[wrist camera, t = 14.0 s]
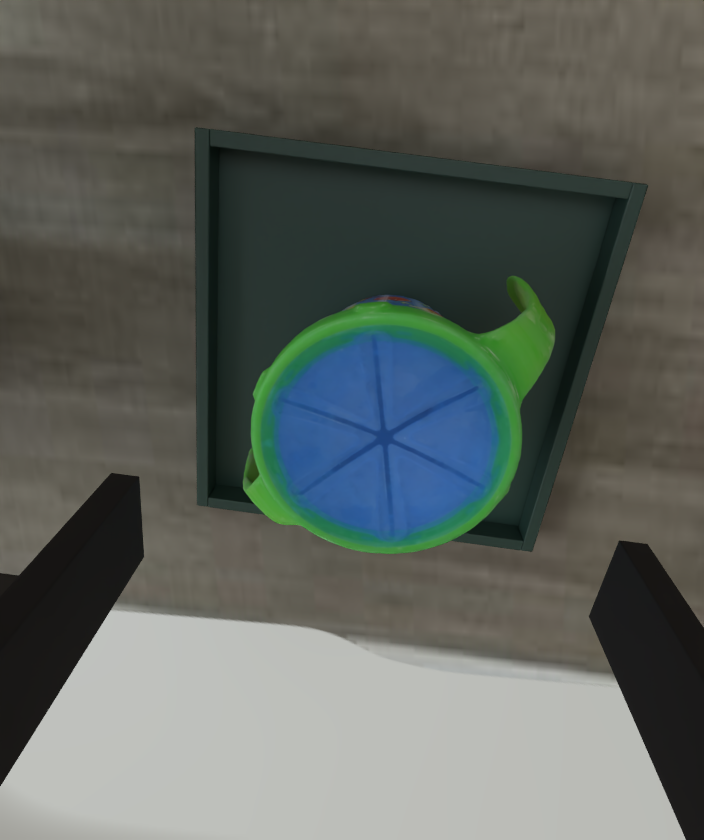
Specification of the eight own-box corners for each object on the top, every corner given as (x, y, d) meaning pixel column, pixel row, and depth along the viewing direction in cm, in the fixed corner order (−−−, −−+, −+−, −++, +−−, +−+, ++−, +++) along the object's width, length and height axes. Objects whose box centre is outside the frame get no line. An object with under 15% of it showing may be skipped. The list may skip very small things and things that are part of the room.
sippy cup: (317, 489, 34) (287, 610, 25) (219, 345, 31) (142, 423, 21) (560, 377, 30) (633, 472, 21) (479, 196, 26) (523, 213, 17)
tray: (207, 486, 35) (196, 505, 33) (209, 129, 27) (194, 126, 25) (524, 530, 35) (532, 552, 33) (630, 183, 26) (649, 184, 24)
